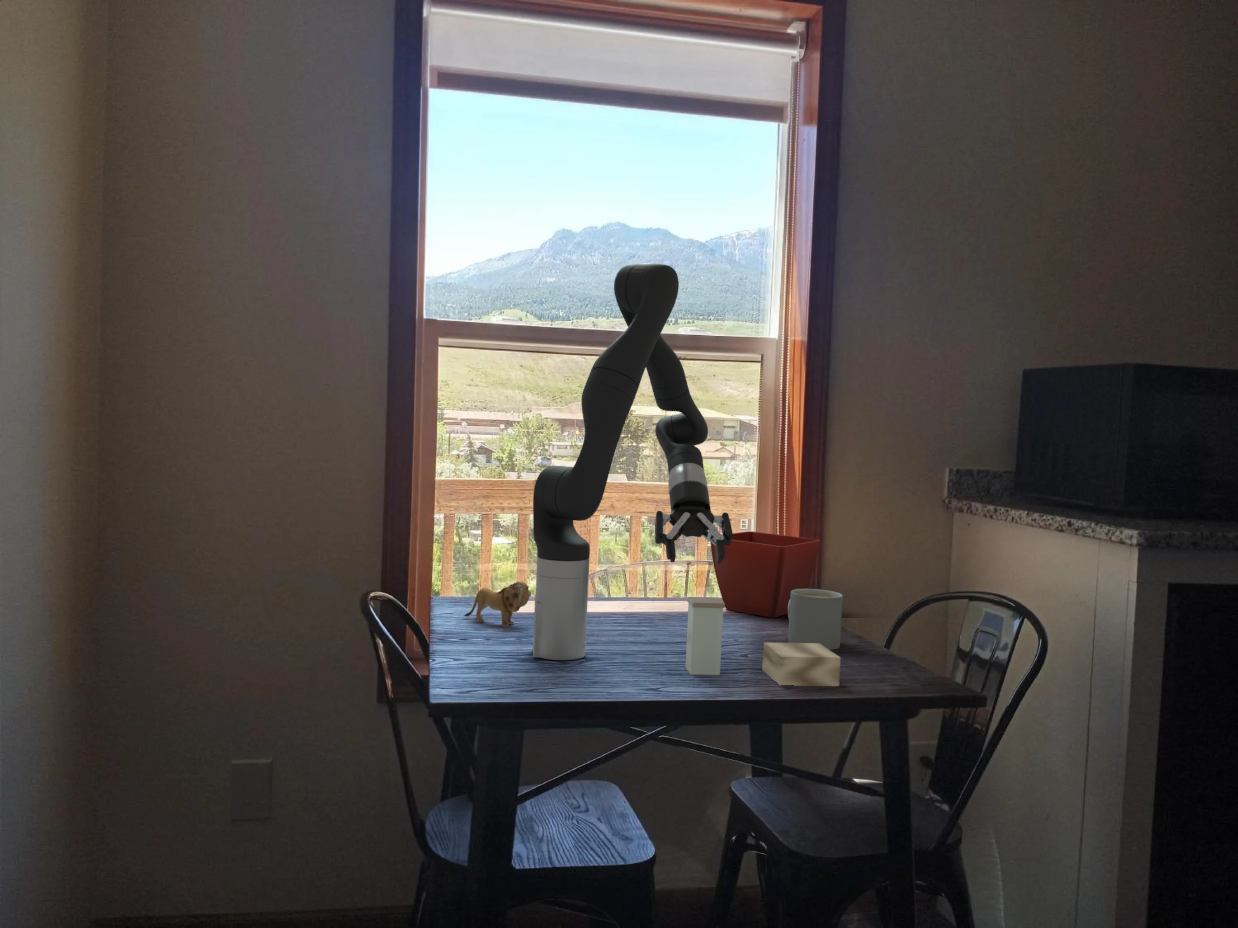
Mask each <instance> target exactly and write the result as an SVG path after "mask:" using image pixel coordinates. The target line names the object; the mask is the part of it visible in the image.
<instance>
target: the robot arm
mask: <svg viewBox="0 0 1238 928" xmlns="http://www.w3.org/2000/svg"><path fill="white" fill-rule="evenodd" d="M679 281H680V280H679V276H678V272H677V271H676V270H675V269H674V268H673V267H672V266H670V265H668V264H663V263H644V264H643V263H641V264H640V263H632V264H626V265H624V266H622V267H620V269H619V270H618V271H617V273H616V275H615V278H614V281H613V292H614V296H615V300H616V303H617V304H616V305H617V306H618V309H619V311H620V314H621V316H622V318H623V320H624V323H626V326H627V328H626V329H625V330H624V331H623V332H622V334H620V335H619V336H618V337H617V338H616V339H615V340H614V341H613V342H612V343H611V344H610V345H609V346H608V347H606V349H604V351H602V352H601V353H600V355H599V356H598V357H597V358H596V359H595V361H594V362H593V365H592V367H591V369H590V372H589V374H588V377H587V379H586V382H585V385H584V387H583V391H582V393H581V412H582V419H583V426H584V438H583V442H582V446H581V449H580V452H579V454H578V457H577V459H576V462H575V464H574V465H573V466H566V465H565V466H563V465H550V466H547V467H545V468H544V469H543V470H542V471H541V472H540V473H539V474H538V476H537V478H536V481H535V483H534V488H533V494H532V495H533V498H532V499H533V500H532V514H533V515H532V516H533V517H532V519H533V523H532V528H533V531H532V533H533V539H534V543H535V546H536V556H537V557H536V574H535V575H536V577H535V580H536V581H535V597H534V616H533V617H534V618H533V636H532V638H533V639H532V641H533V642H532V657H533V658H540V659H546V660H551V661H552V660H553V661H573V660H578V659H579V660H580V659H582V658H584V657H585V656H586V647H587V626H588V625H587V622H588V621H587V620H588V599H589V598H588V597H589V578H590V577H589V576H590V575H589V574H590V555H591V554H590V553H591V546H590V544H589V542H588V541H587V540H586V539H585V538H584V537H582V536H581V535H580V534H579V533H578V532H577V530H576V528H575V525H574V521H577V522H580V521H582V522H583V521H587V520H589V519H590V518H591V517H593V515H594V514H595V513H596V512H597V510H598V509H599V507H600V505H601V502H602V499H603V497H604V494H605V490H606V486H607V483H608V478H609V475H610V471H611V467H612V463H613V460H614V456H615V453H616V449H617V446H618V444H619V441H620V438H621V435H622V433H623V429H624V427H625V423H626V421H627V419H628V415H629V413H630V410H631V409H632V406H633V403H634V401H635V398H636V396H637V393H638V390H639V389H640V385H641V381H642V378H643V376H644V372H645V370H646V371H647V375H648V377H649V381H650V382H649V383H650V386H651V390H652V393H653V397H654V400H655V404H656V406H657V407H658V408H659V409H660V410H661V411H665V412H678V413H675V414H672V415H667V416H664V417H661V418H660V419H658V421H657V422H656V424H655V428H654V429H655V432H654V433H655V437H656V440H657V442H658V443H659V445H660V448H661V450H662V451H663V453H664V456H665V458H666V462H667V472H668V490H667V491H668V496H669V505H670V514H667V513H663V511H661V510H657V511H656V513H655V519H654V542H655V543H656V544H657V545H660V544H663V545H664V546H665V552H666V553H665V554H666V559H667V560H669V562H670V563H676V556H677V553H676V546H675V545H676V544H675V542H677V541H678V540H679V539H680V537H681V536H684V537H685V538H689V537H697V538H702V537H703V538H704V539H705V540H706V541H708V542H710V541H711V542H712V543H713V544H714V545H715V554H716V562H717V563H721V561H723V560H724V557H725V548H724V545H730V544H731V540H732V538H733V533H734V532H733V529H732V524H731V520H730V515H729V513H727V512H722V515H714V514H713V513H712V511H711V510H712V508H711V502H710V496H709V495H710V494H709V486H708V481H707V477H706V474H705V468H704V460H703V459H704V458H703V454H702V451H701V450H700V449H699V448H698V447H697V446H698V445H702V444H703V443H705V442H706V440H707V438H708V436H709V427H708V423H707V421H706V419H705V418H704V415H703V414H702V413H701V411H700V410H699V408H698V406H697V404H696V403H695V401H694V399H693V396H692V394H691V393H690V392H691V391H690V389H689V385H688V380H687V377H686V373H685V369H684V368H683V367H684V366H683V365H682V361H681V360H680V357H679V356H678V355H677V354H676V352H675V351H674V350H673V349H672V348H671V346H670V345H669V343H668V342H667V341H666V340H665V339H664V337H663V336H662V335H661V333H662V331H663V330H664V327H665V325H666V323H667V322H668V320H669V317H670V315H671V313H672V311H673V310H674V307H675V304H676V301H677V299H678V294H679V286H680V285H679V283H680V282H679ZM668 522H669V523H670V525H671V526H672V529H670V531H668V533H667V534H666V533H664V526H666V525H667V523H668ZM714 523H716V524H717V526H718V528H719V529H721V533H720V531H718V529H717V526H715V525H714Z"/></svg>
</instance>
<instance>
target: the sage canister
mask: <svg viewBox="0 0 1238 928" xmlns="http://www.w3.org/2000/svg"><path fill="white" fill-rule="evenodd" d="M686 601H687V603H688V606H687V607H688V609H687V627H686V630H687V631H686V649H685V669H686V670H687V671H688V673H689V675H691V676H692V675H693V676H694V675H696V676H697V675H698V676H704V675H705V676H721V664H722V663H721V661H722V660H721V659H722V639H723V622H724V621H723V620H724V609H726V608H725V603H724V602H723V600H722V598H719V597H714V596H713V597H710V596H708V597H707V596H705V597H704V596H687V599H686Z"/></svg>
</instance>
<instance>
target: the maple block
mask: <svg viewBox="0 0 1238 928" xmlns="http://www.w3.org/2000/svg"><path fill="white" fill-rule="evenodd" d="M762 651H763V652H762V671H763V672H764V673H765V674H767V676H769V677H770V678H771V679H772V680H773V681H776V682H777V683H778V685H779V686H780V685H794V686H793V687H797V686H798V687H839V686H840V678H841V677H840V676H841V673H840V672H841V656H839V655H837V654H836V653H834V652H833V651H832V650H829V649H827V648H826V647H824V646H823V645H821V644H820V643H788V642H763V649H762ZM776 682H775V683H776ZM777 683H776V684H777Z"/></svg>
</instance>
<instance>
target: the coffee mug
mask: <svg viewBox="0 0 1238 928" xmlns="http://www.w3.org/2000/svg"><path fill="white" fill-rule="evenodd" d="M843 596H844V595H843V593H840V592H836V591H832V590H828V589H827V590H826V589H818V588H807V589H795V590H792V591H791V597H790V600H789V603H788V614H787V618H788V636H787V638H788V639H787V643H820V644H821V645H823V646H824V647H826V648H827V649H829V650H830V651H832V650H837V649H840V647H841V635H842V633H841V631H842V615H843V600H844V599H843V598H844V597H843Z"/></svg>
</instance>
